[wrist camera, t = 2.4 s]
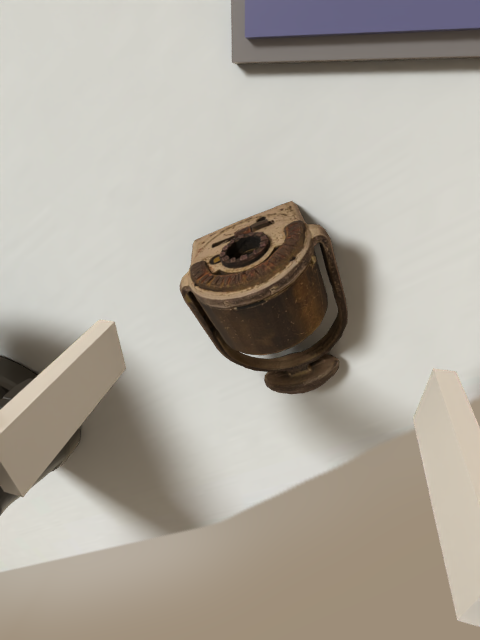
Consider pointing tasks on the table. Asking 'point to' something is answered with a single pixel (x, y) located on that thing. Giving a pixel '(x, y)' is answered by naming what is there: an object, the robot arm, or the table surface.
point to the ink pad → (353, 30)
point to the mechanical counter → (268, 296)
